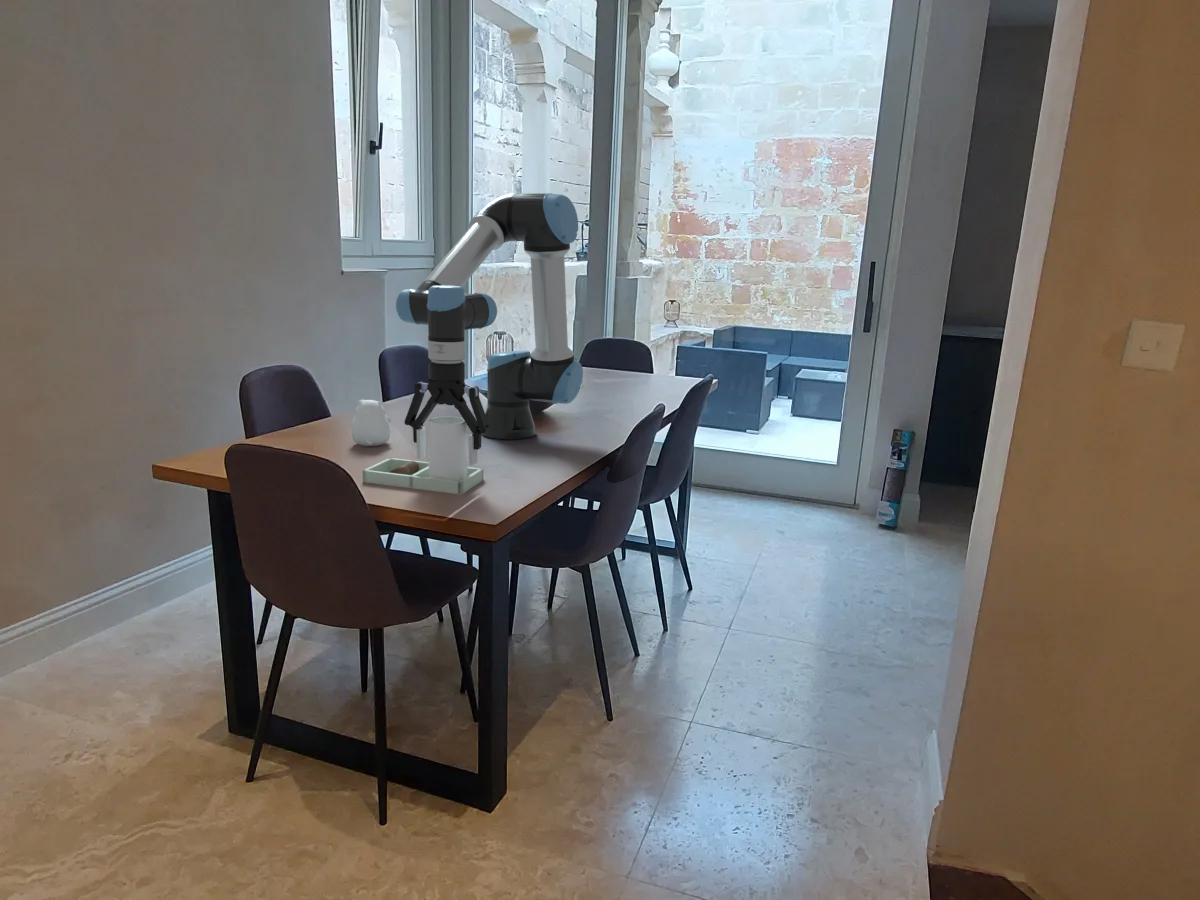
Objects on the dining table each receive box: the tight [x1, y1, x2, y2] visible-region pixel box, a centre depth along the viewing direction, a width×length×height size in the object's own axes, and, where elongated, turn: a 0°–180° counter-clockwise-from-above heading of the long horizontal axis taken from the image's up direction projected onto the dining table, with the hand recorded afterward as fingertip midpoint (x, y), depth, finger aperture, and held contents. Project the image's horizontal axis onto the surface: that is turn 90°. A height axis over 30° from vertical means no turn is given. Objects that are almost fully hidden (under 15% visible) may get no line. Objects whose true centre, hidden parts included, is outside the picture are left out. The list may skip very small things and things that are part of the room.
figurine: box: [351, 399, 392, 447], centre depth 201 cm, size 10×10×12 cm
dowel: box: [390, 460, 419, 475], centre depth 174 cm, size 8×3×3 cm
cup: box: [427, 415, 469, 481], centre depth 170 cm, size 8×8×14 cm
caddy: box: [362, 457, 484, 495], centre depth 173 cm, size 12×23×3 cm, turn 75°
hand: (447, 460), depth 171 cm, fingers open, 11 cm apart
